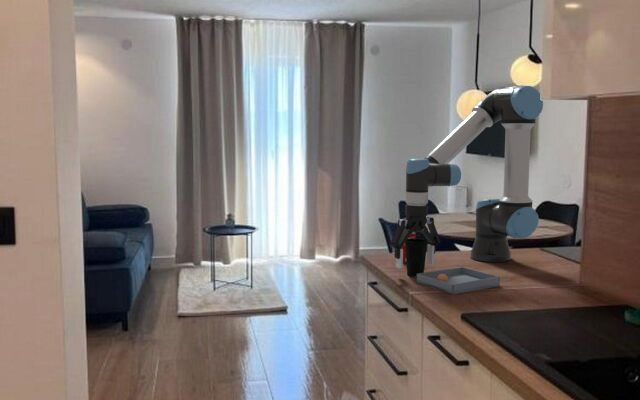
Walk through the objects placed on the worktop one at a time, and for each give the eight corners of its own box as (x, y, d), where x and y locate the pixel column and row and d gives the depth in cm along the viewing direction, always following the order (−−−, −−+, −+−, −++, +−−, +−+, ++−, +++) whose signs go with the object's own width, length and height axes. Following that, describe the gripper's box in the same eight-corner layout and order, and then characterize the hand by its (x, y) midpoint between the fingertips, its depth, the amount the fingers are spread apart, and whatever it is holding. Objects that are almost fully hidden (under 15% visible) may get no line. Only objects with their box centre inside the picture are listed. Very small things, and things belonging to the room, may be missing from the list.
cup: (426, 277, 214) (426, 242, 213) (403, 276, 216) (404, 241, 214) (427, 272, 222) (427, 238, 220) (405, 271, 223) (405, 237, 222)
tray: (462, 275, 218) (462, 266, 217) (499, 285, 203) (499, 276, 203) (416, 282, 208) (416, 273, 207) (452, 294, 193) (452, 284, 193)
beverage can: (396, 260, 241) (397, 229, 240) (410, 259, 243) (410, 228, 242) (404, 263, 236) (405, 231, 235) (418, 262, 238) (418, 230, 237)
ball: (442, 282, 204) (443, 271, 204) (450, 284, 201) (450, 274, 201) (434, 284, 203) (434, 273, 202) (441, 286, 200) (442, 275, 199)
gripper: (437, 201, 226) (435, 260, 228) (380, 205, 213) (379, 267, 215) (451, 203, 219) (449, 264, 222) (394, 207, 206) (392, 271, 209)
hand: (414, 265), depth 218 cm, fingers open, 13 cm apart
